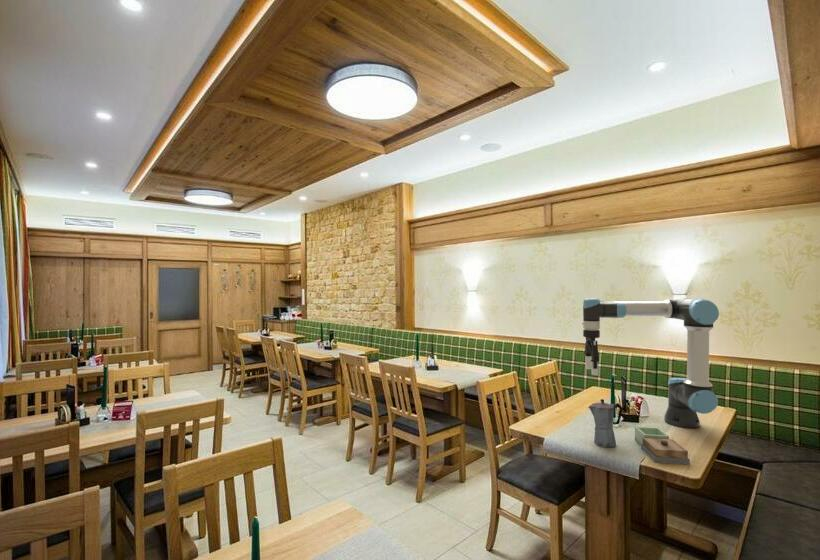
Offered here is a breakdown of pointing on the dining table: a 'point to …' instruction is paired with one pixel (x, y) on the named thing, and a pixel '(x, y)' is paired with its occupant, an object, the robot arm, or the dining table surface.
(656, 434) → the green open box
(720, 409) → the dining table surface
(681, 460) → the mat
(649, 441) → the lid
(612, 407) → the moka pot
